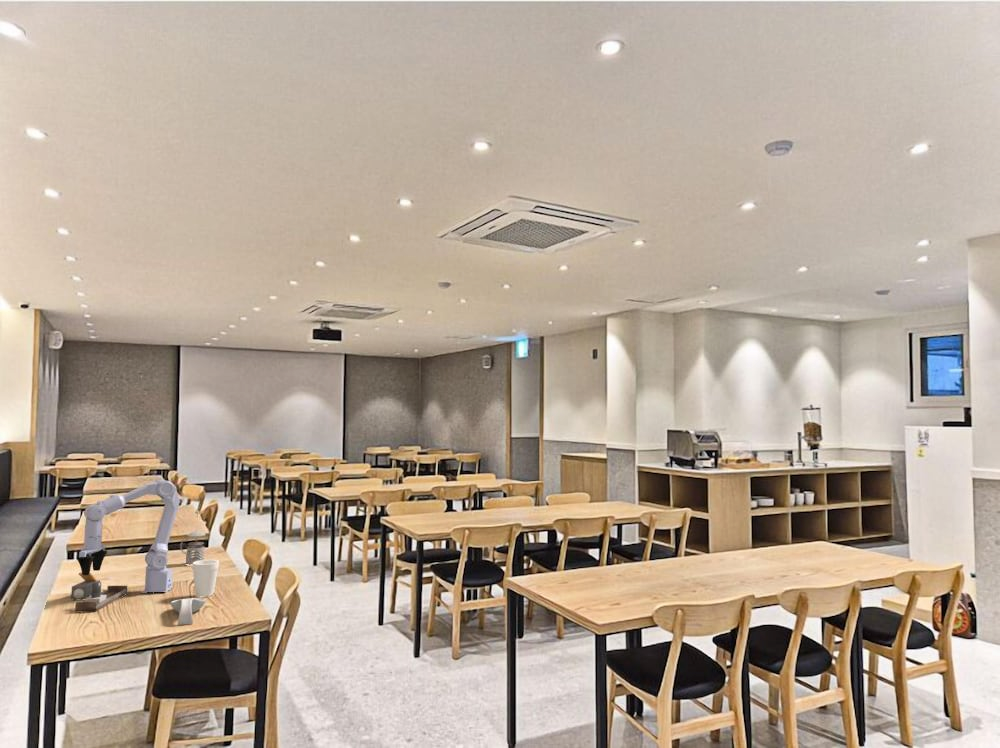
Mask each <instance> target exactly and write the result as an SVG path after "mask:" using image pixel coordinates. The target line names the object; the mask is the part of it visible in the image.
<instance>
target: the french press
mask: <svg viewBox="0 0 1000 748" xmlns="http://www.w3.org/2000/svg"><path fill="white" fill-rule="evenodd" d="M194 514H195V515H196V517H198V514H200V510H196V511H195V513H194ZM200 537H202V538H203V537H206V533H205V532H202V531H198V527H196V529H195V531H192V532H190V533H188V534H187V537H186V538H184V539H182V540H181V543H180V551H181V552H182V553H183V554H185V563H184V564H189V565H190V564H193V562H196V561H200V560H205V550H206V547H205V542H201V541H197V538H200ZM189 538H195V541H194V542H193V541H192V542H188V541H189ZM184 541H186V542H188V543H187V547H186V552H185V551H184V549H183V542H184Z"/></svg>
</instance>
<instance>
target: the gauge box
mask: <svg viewBox="0 0 1000 748" xmlns="http://www.w3.org/2000/svg"><path fill="white" fill-rule="evenodd" d="M94 582H101V580H100V579H99V580H98V579H97V581H85V580H83V581H81V582H79V583H77V584H75V585H72V586H71V593H70V594H71V595H70V600H71V599H85V598H87V597H89V596H91V591H92V583H94Z"/></svg>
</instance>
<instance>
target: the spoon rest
mask: <svg viewBox="0 0 1000 748" xmlns="http://www.w3.org/2000/svg"><path fill="white" fill-rule="evenodd" d="M206 602H207V598H197V597H191V598H189V597H188V598H183V599H182V598H181V599H175V600H172V601H170V606H171V608H172V609H173V610H175V612H177V613H178V614H179V615H178V617H177V626H185V625H192V624H193V623H194V621H193V620H194V619H193V618H194V617H193V613H192V612H194V613H196V612H198V611H199V610H200V609H201V608H203V606H204V605H205V604H206ZM197 610H198V611H197ZM195 611H196V612H195Z"/></svg>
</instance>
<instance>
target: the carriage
mask: <svg viewBox="0 0 1000 748" xmlns="http://www.w3.org/2000/svg"><path fill="white" fill-rule="evenodd" d="M101 592H102V581H100V582H94V583H92V591H91V596H89V597H87V598H85V600H84V601H98V602H97V604H98V603H100V602H102V601H104V600H106V595H101Z"/></svg>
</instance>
